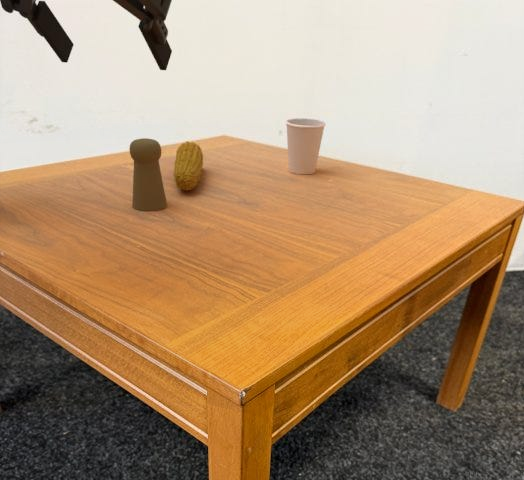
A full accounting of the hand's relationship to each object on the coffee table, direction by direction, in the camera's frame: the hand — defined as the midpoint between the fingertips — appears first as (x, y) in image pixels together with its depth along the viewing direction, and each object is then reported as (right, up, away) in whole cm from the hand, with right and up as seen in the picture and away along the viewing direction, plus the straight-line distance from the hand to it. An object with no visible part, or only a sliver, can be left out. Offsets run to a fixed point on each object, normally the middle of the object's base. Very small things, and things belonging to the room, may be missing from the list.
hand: (116, 57), depth 68 cm
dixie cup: (+27, +3, +52) cm, 58 cm away
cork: (-2, -11, +29) cm, 31 cm away
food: (+3, -2, +42) cm, 43 cm away
